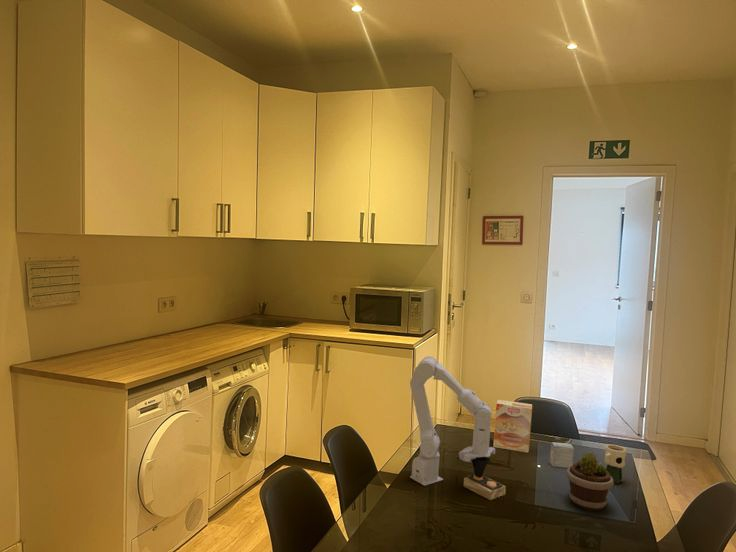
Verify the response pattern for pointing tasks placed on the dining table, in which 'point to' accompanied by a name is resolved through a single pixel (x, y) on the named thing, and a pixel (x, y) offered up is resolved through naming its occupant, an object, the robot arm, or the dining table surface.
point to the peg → (491, 484)
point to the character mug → (615, 461)
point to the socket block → (484, 487)
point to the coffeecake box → (512, 425)
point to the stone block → (465, 451)
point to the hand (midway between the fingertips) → (478, 476)
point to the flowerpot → (589, 483)
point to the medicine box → (561, 455)
